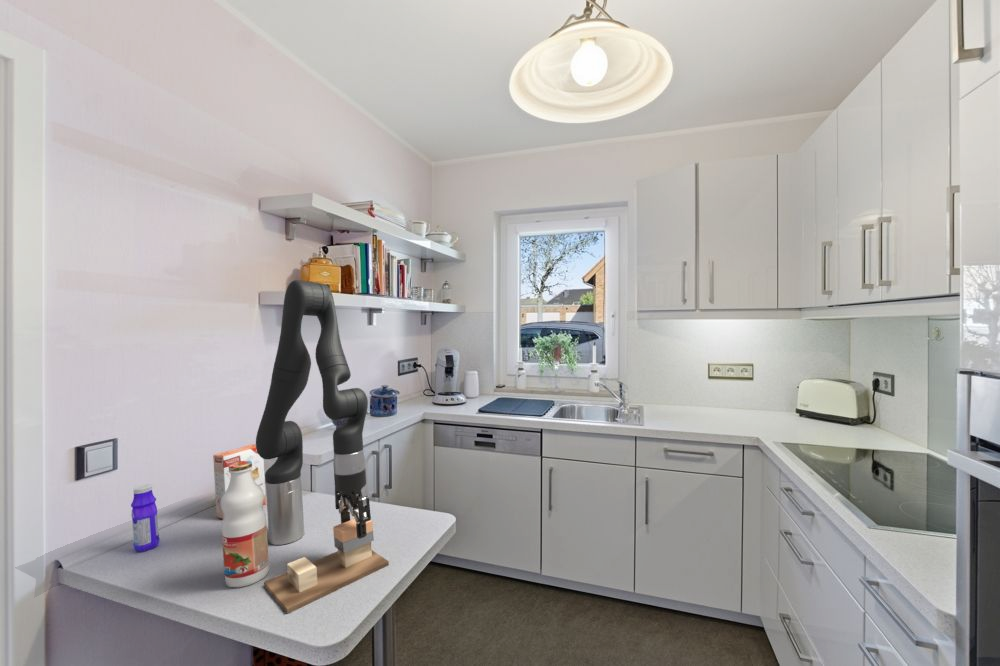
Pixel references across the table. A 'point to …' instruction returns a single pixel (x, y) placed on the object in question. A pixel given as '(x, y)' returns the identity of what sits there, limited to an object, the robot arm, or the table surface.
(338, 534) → the cover
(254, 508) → the fruit juice
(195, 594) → the table surface
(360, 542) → the housing base
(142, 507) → the bottle
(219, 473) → the cracker box
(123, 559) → the table surface
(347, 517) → the robot arm
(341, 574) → the twin stand
